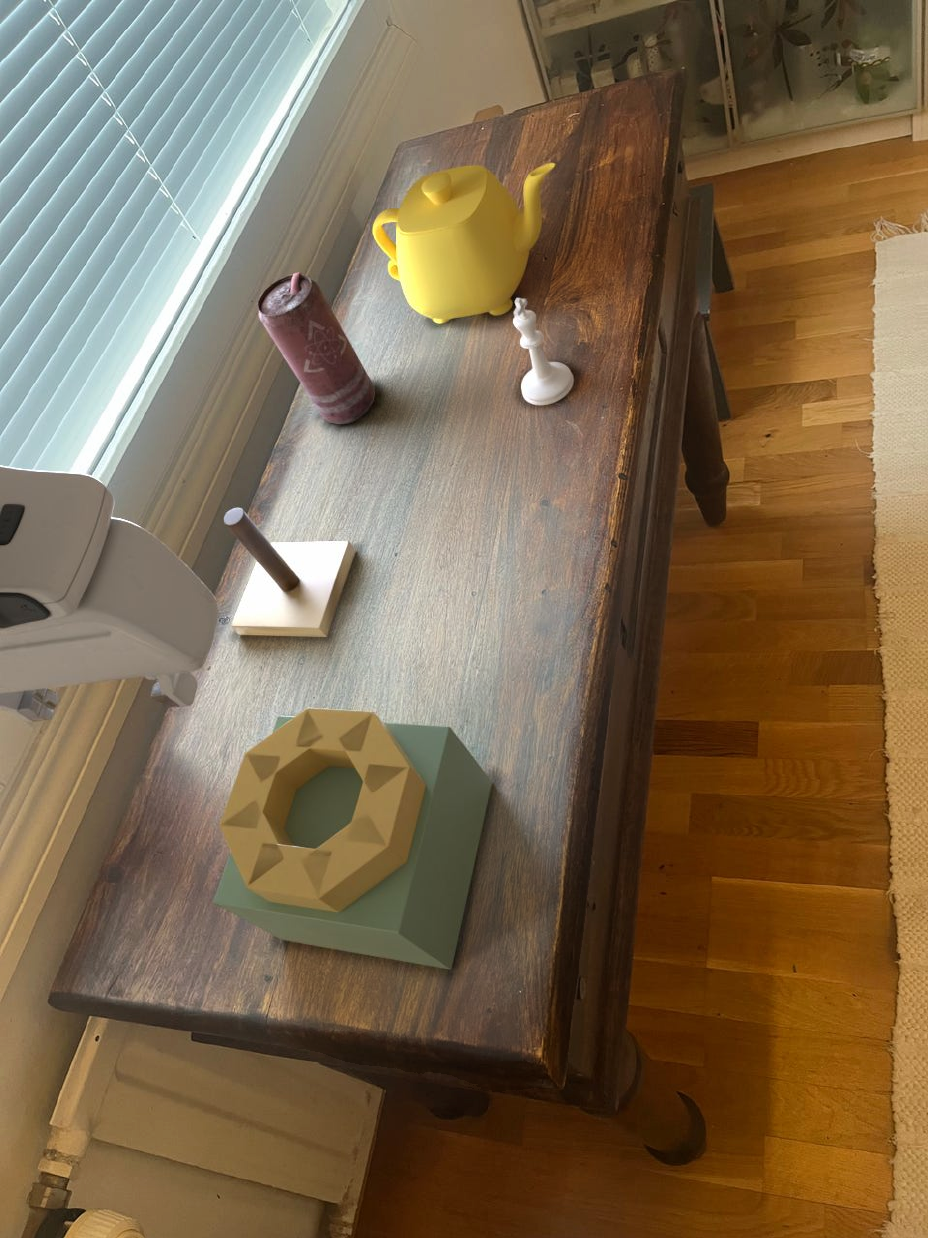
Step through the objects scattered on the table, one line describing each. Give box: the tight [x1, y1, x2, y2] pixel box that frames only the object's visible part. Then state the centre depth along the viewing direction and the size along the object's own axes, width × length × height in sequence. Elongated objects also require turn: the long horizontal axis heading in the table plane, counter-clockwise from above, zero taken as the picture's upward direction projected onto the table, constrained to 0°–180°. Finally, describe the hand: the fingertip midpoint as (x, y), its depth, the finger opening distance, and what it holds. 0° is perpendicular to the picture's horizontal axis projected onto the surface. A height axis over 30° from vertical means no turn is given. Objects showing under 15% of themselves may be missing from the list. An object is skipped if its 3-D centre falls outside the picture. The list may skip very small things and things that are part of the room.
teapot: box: [372, 162, 556, 324], centre depth 92 cm, size 14×20×13 cm
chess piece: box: [512, 297, 575, 406], centre depth 82 cm, size 5×5×10 cm
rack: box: [223, 507, 356, 638], centre depth 78 cm, size 9×9×11 cm
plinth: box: [212, 715, 493, 970], centre depth 62 cm, size 13×13×9 cm
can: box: [257, 271, 376, 425], centre depth 89 cm, size 6×6×14 cm
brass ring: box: [218, 707, 426, 913], centre depth 57 cm, size 12×12×3 cm
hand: (113, 703), depth 52 cm, fingers open, 8 cm apart
